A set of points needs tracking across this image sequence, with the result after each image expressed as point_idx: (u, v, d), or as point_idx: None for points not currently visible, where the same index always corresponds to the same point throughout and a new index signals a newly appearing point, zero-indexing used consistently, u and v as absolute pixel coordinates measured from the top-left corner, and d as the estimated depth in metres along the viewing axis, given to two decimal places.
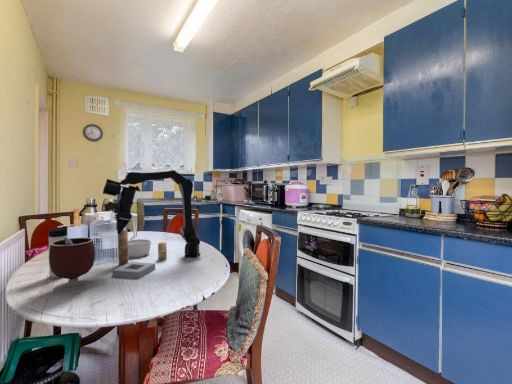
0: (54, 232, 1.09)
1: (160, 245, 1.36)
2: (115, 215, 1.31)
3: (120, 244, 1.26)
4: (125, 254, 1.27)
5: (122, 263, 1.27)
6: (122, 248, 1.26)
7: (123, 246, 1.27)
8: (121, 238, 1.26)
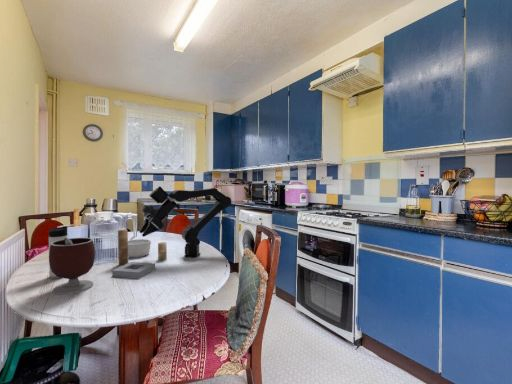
0: (54, 232, 1.09)
1: (160, 245, 1.36)
2: (146, 219, 1.38)
3: (120, 244, 1.26)
4: (125, 254, 1.27)
5: (122, 263, 1.27)
6: (122, 248, 1.27)
7: (123, 246, 1.27)
8: (121, 238, 1.26)
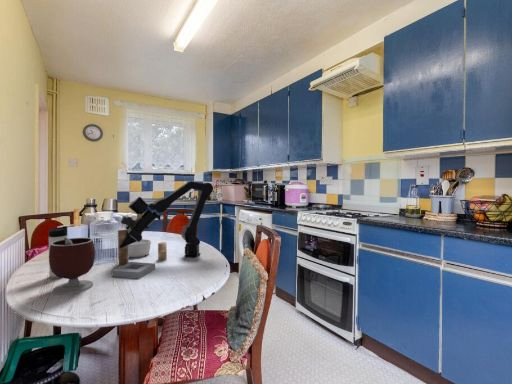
0: (54, 232, 1.09)
1: (160, 245, 1.36)
2: None
3: (120, 244, 1.26)
4: (125, 254, 1.27)
5: (122, 263, 1.27)
6: (122, 248, 1.27)
7: None
8: (121, 238, 1.26)
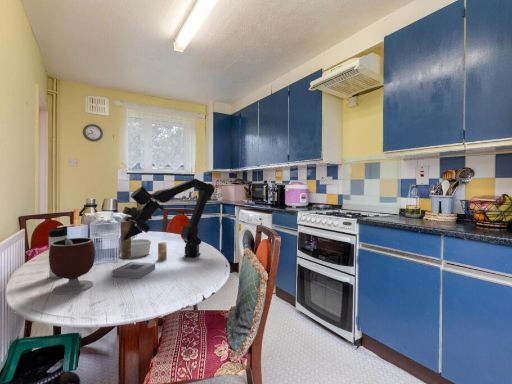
0: (54, 232, 1.09)
1: (160, 245, 1.36)
2: None
3: (124, 236, 1.21)
4: (128, 246, 1.22)
5: (125, 256, 1.21)
6: (126, 240, 1.21)
7: None
8: (125, 230, 1.20)
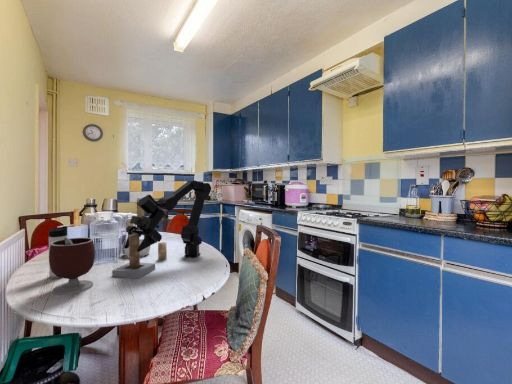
0: (54, 232, 1.09)
1: (160, 245, 1.36)
2: (130, 232, 1.21)
3: (134, 250, 1.15)
4: (138, 260, 1.17)
5: None
6: (136, 254, 1.16)
7: (136, 252, 1.16)
8: (135, 243, 1.16)
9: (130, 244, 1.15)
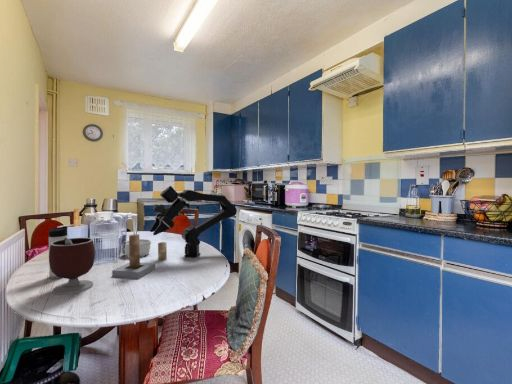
0: (54, 232, 1.09)
1: (160, 245, 1.36)
2: (156, 218, 1.40)
3: (134, 250, 1.16)
4: (138, 260, 1.17)
5: None
6: (136, 254, 1.16)
7: (137, 252, 1.16)
8: (135, 243, 1.16)
9: (130, 244, 1.15)
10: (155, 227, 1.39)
